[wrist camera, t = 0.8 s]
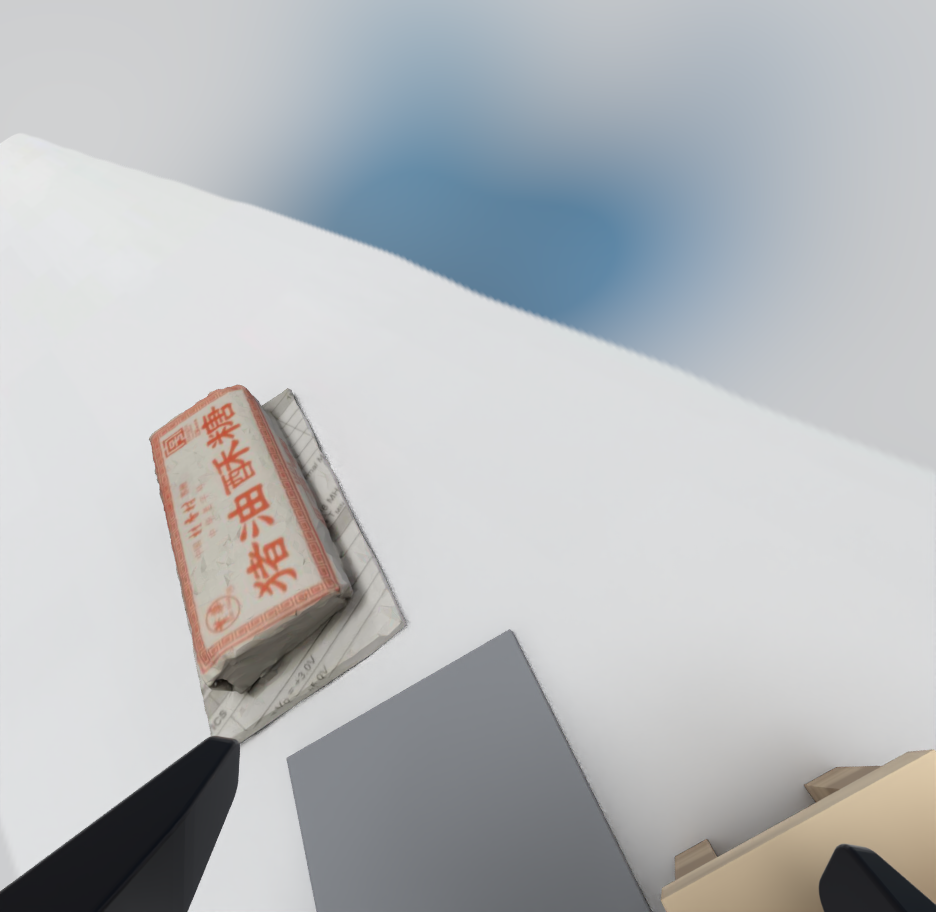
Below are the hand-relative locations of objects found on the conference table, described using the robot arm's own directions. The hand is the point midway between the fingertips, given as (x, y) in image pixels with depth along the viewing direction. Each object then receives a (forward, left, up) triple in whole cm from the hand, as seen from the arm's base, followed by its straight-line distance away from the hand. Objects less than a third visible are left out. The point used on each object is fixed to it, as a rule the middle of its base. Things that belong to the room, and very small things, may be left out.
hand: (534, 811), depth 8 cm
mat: (+1, +6, -13) cm, 15 cm away
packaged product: (+18, +11, -14) cm, 25 cm away
